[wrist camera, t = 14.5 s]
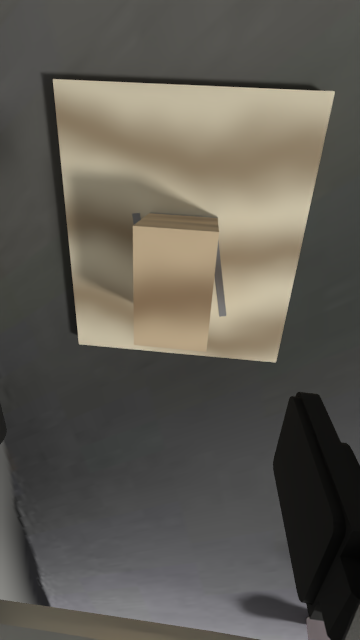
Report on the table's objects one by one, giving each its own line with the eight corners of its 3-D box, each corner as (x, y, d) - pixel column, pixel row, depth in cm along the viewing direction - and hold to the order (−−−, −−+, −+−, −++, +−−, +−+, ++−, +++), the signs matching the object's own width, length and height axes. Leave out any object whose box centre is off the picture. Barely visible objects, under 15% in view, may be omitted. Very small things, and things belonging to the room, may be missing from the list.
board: (60, 83, 22) (52, 78, 21) (328, 95, 21) (334, 91, 20) (83, 337, 31) (78, 344, 30) (273, 355, 30) (276, 362, 29)
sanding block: (150, 212, 24) (132, 225, 19) (217, 216, 24) (219, 232, 18) (149, 309, 28) (133, 344, 22) (207, 314, 27) (206, 351, 22)
